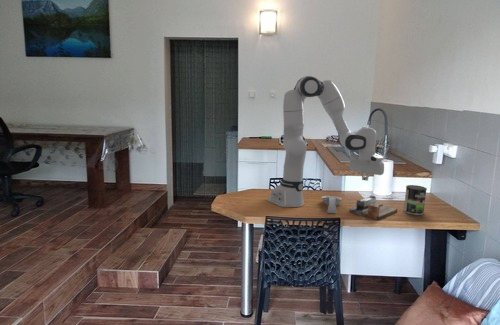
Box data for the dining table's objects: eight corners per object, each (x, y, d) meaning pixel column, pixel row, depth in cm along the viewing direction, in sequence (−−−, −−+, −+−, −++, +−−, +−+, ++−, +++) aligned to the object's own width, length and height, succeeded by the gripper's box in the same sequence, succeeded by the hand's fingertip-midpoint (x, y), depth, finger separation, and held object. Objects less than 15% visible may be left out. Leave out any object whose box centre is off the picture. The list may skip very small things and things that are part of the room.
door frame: (348, 211, 203) (349, 200, 202) (368, 204, 218) (369, 193, 217) (378, 220, 191) (379, 207, 190) (397, 211, 206) (398, 200, 205)
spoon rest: (320, 200, 223) (321, 189, 222) (341, 202, 221) (342, 190, 220) (321, 213, 200) (322, 200, 199) (343, 215, 198) (344, 202, 197)
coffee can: (427, 214, 203) (431, 189, 200) (411, 215, 200) (414, 190, 197) (414, 208, 213) (417, 184, 210) (399, 209, 210) (402, 185, 207)
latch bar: (361, 208, 200) (362, 201, 199) (354, 206, 203) (355, 200, 202) (376, 202, 211) (376, 196, 210) (369, 201, 214) (370, 195, 213)
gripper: (347, 154, 215) (346, 177, 218) (380, 159, 201) (378, 184, 203) (353, 153, 220) (351, 176, 222) (386, 157, 205) (384, 182, 208)
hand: (365, 180), depth 213 cm, fingers closed
